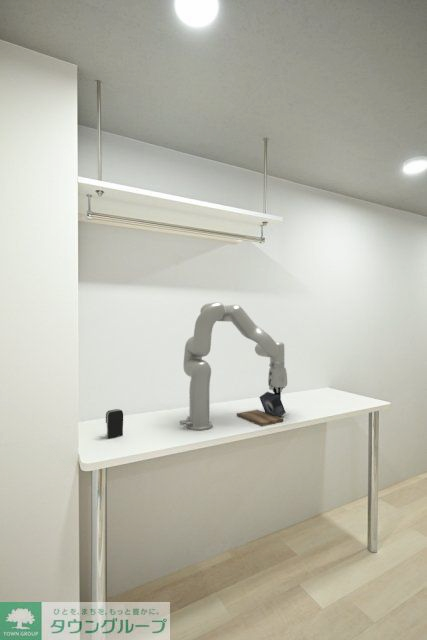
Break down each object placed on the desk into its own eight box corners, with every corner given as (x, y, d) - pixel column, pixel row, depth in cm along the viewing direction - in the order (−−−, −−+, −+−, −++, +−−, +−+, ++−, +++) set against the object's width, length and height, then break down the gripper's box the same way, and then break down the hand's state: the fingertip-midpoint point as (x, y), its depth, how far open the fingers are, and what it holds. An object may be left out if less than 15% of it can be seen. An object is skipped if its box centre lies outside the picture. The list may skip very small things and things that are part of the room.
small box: (264, 414, 175) (258, 397, 173) (273, 407, 178) (267, 391, 176) (277, 419, 165) (270, 401, 164) (286, 412, 168) (279, 394, 166)
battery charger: (119, 433, 143) (120, 407, 143) (123, 435, 140) (123, 409, 141) (104, 436, 139) (104, 410, 139) (107, 439, 136) (108, 412, 136)
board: (261, 426, 153) (261, 423, 153) (236, 416, 170) (236, 413, 170) (283, 421, 161) (283, 418, 161) (257, 412, 178) (257, 409, 178)
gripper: (271, 367, 165) (271, 403, 165) (292, 365, 173) (292, 399, 173) (261, 365, 172) (262, 400, 171) (282, 363, 180) (282, 396, 180)
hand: (277, 399), depth 172 cm, fingers closed
